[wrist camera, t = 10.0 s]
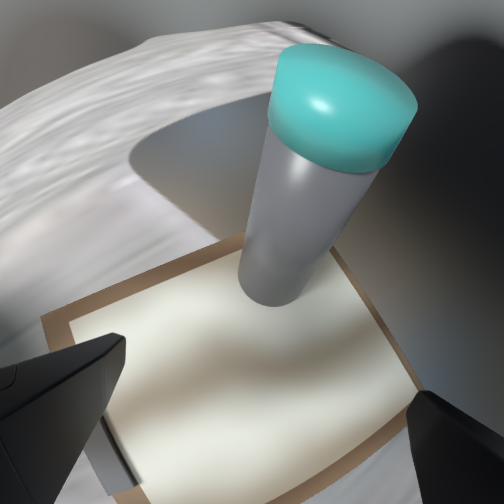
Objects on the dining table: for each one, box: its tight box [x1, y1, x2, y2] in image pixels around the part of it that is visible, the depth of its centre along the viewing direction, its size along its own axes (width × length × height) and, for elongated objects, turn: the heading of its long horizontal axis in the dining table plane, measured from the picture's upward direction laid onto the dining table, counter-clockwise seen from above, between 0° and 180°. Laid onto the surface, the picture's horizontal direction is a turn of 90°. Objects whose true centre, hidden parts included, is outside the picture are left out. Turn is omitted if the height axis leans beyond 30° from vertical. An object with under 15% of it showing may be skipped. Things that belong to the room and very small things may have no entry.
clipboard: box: [41, 231, 424, 504], centre depth 16 cm, size 16×19×1 cm
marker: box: [238, 44, 417, 307], centre depth 13 cm, size 4×4×13 cm
